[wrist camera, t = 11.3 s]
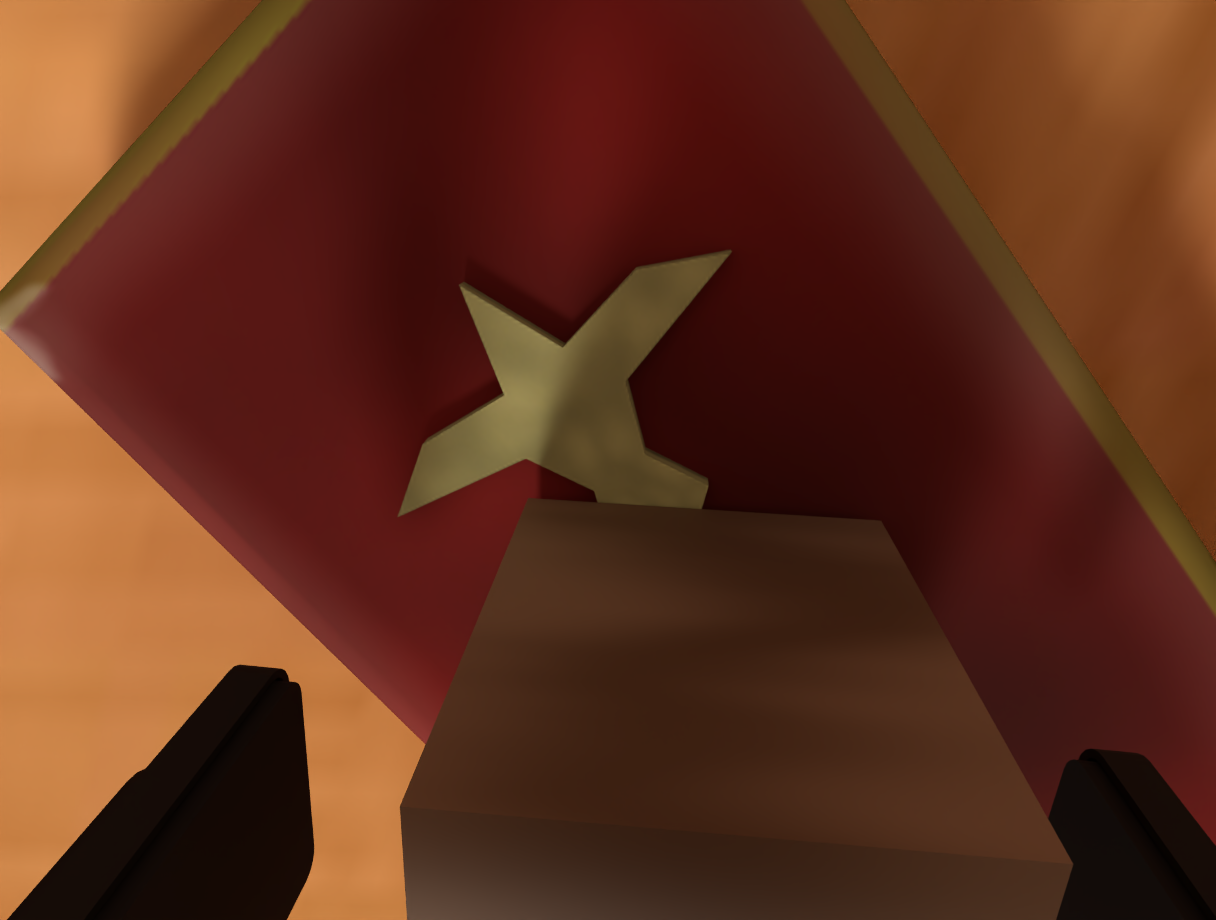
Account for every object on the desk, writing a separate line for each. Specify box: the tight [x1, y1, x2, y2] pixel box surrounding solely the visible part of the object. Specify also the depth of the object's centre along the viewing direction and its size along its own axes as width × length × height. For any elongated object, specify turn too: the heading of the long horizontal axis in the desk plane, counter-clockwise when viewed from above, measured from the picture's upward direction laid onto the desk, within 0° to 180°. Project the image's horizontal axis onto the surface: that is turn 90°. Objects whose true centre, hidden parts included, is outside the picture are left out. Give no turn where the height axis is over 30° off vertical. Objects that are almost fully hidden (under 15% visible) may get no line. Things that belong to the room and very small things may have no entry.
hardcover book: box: [0, 0, 1216, 846], centre depth 14 cm, size 12×21×4 cm, turn 40°
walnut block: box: [400, 498, 1073, 920], centre depth 10 cm, size 5×5×6 cm
